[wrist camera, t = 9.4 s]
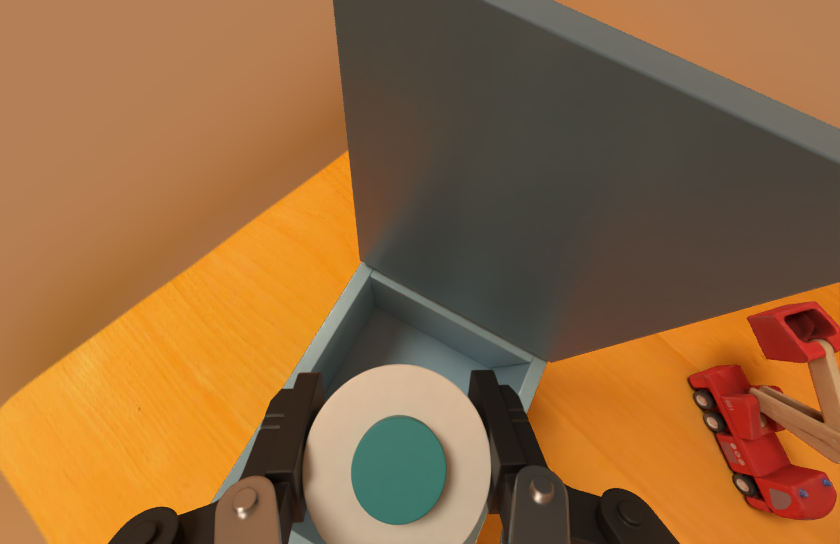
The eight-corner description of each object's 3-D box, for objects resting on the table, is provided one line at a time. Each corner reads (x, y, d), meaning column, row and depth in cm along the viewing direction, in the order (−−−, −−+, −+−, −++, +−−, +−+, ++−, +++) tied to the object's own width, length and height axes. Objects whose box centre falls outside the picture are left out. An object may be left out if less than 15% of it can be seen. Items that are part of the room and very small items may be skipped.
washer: (420, 547, 24) (436, 645, 15) (275, 460, 25) (209, 504, 16) (499, 364, 28) (550, 356, 19) (372, 295, 29) (364, 257, 20)
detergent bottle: (419, 520, 15) (445, 647, 8) (315, 457, 15) (247, 524, 8) (471, 404, 16) (532, 421, 9) (375, 351, 17) (362, 327, 10)
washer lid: (1006, 237, 5) (997, 197, 5) (324, -75, 6) (348, -94, 6) (551, 363, 18) (556, 349, 19) (359, 260, 19) (367, 249, 20)
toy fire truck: (746, 511, 26) (939, 582, 17) (661, 332, 30) (782, 310, 20) (782, 496, 27) (989, 557, 17) (694, 322, 30) (826, 296, 21)
